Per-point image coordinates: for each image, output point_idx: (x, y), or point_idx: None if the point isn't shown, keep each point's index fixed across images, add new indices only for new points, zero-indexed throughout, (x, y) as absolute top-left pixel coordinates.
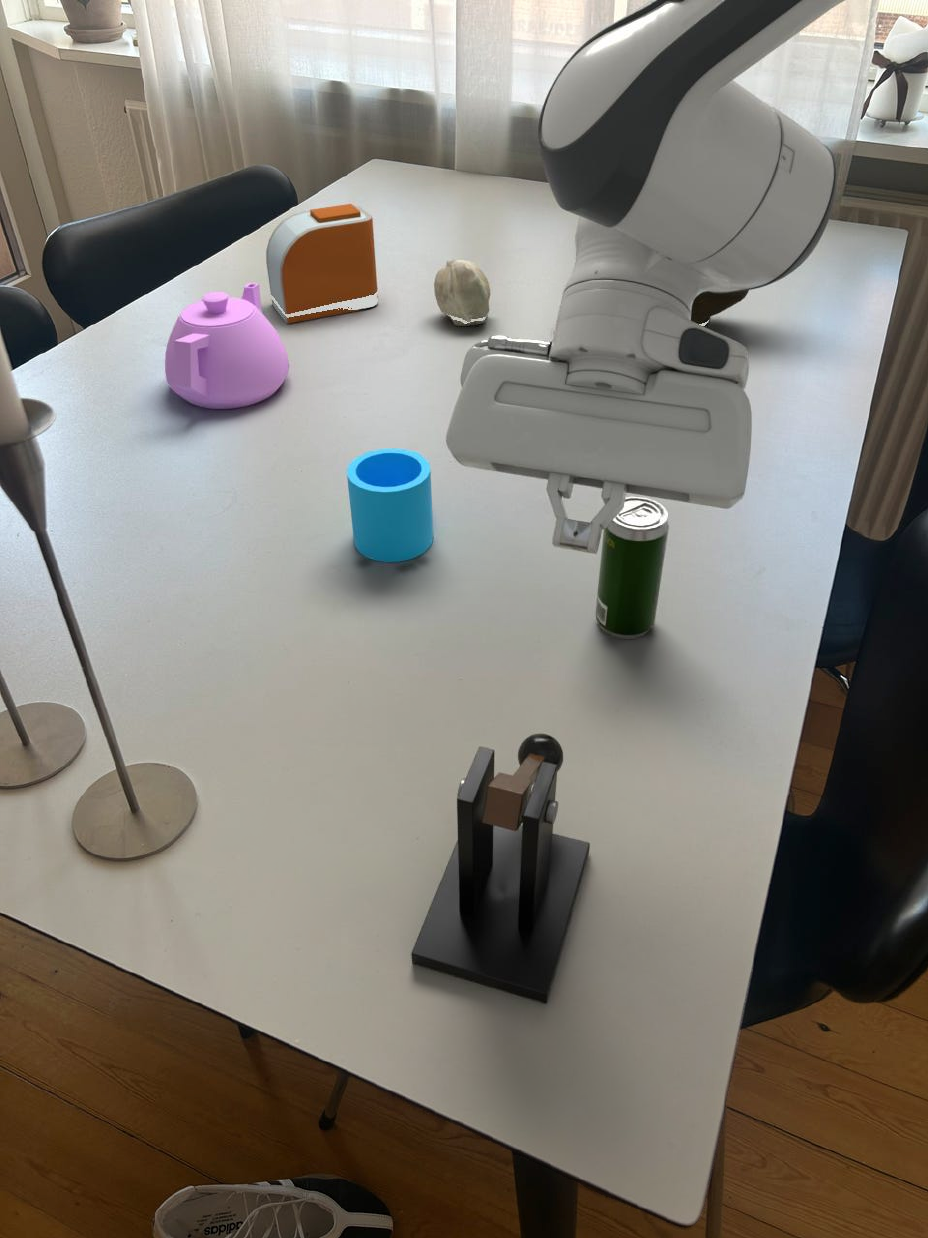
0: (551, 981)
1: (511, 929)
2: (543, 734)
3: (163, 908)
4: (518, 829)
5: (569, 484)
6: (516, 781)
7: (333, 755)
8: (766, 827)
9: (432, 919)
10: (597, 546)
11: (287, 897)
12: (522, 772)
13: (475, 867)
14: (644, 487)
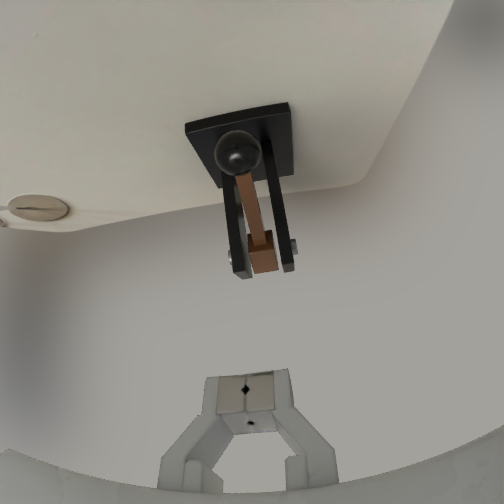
0: (293, 170)
1: (261, 165)
2: (236, 164)
3: (100, 213)
4: (230, 126)
5: (218, 490)
6: (266, 258)
7: (55, 147)
8: (430, 45)
9: (216, 178)
10: (290, 384)
11: (135, 191)
12: (252, 220)
13: (242, 209)
14: (383, 491)
